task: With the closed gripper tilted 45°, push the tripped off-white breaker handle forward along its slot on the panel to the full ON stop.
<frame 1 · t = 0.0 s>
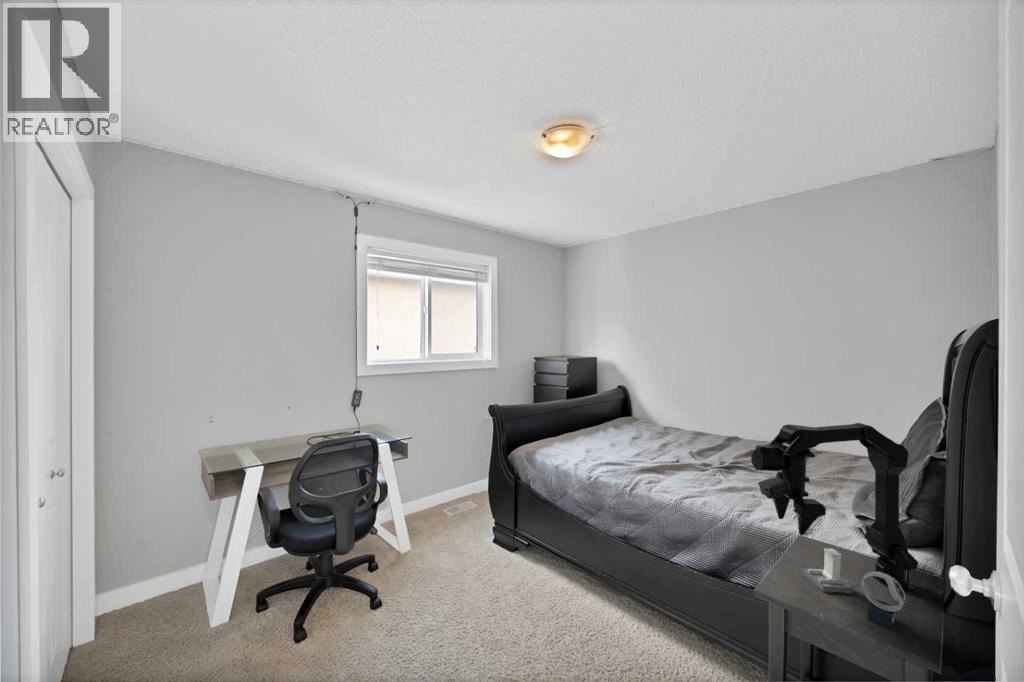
hand: (790, 526, 117), 15 cm above the nightstand, tool pointing down, fingers open, 9 cm apart
breaker handle: (832, 564, 114), point 5 cm above the nightstand, slide at 1.0 cm
breaker panel: (827, 583, 115), on the nightstand
watch: (881, 620, 101), on the nightstand
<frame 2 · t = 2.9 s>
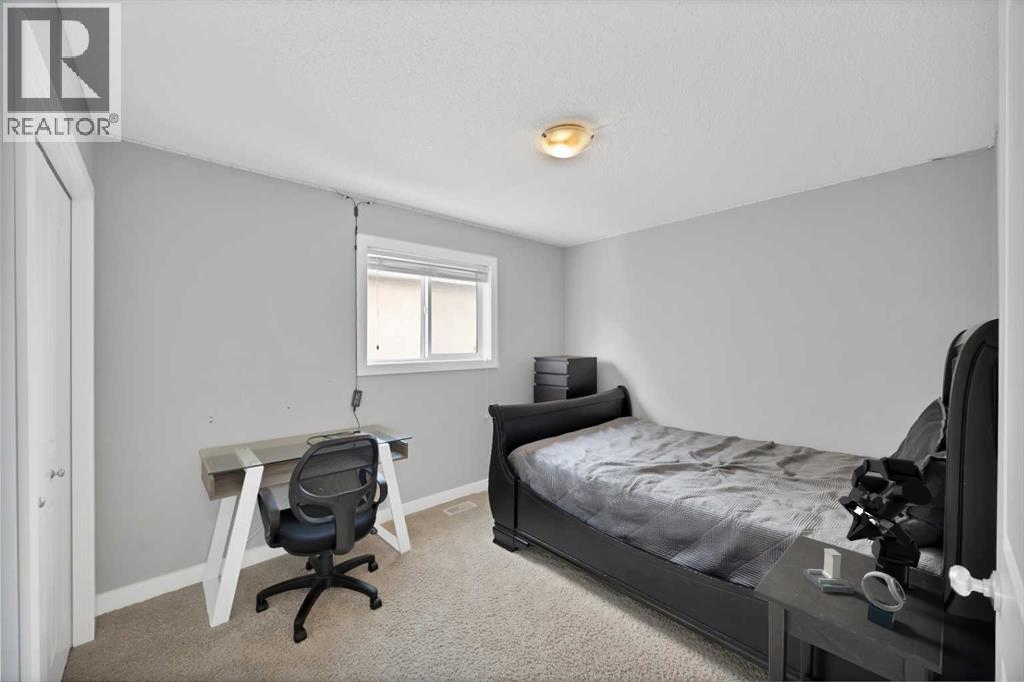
hand: (848, 539, 114), 13 cm above the nightstand, tool tilted 45°, fingers closed
nothing on the nightstand moved.
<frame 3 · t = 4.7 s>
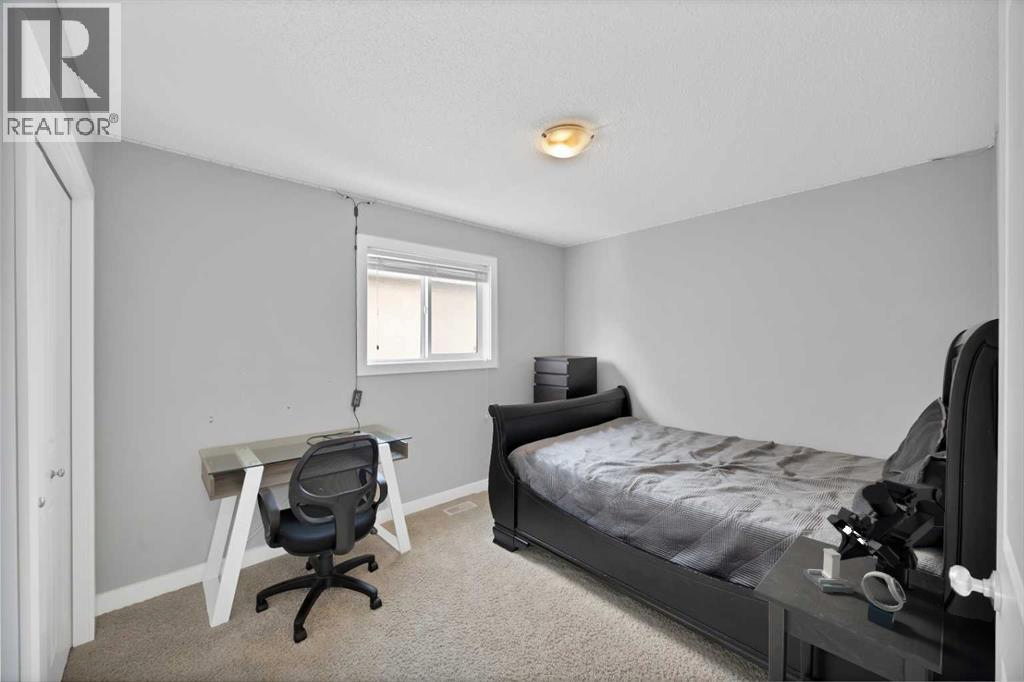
hand: (837, 558, 114), 7 cm above the nightstand, tool tilted 45°, fingers closed, pressing on breaker handle
breaker handle: (831, 564, 114), point 5 cm above the nightstand, slide at 1.2 cm, touching gripper
everything else where it was.
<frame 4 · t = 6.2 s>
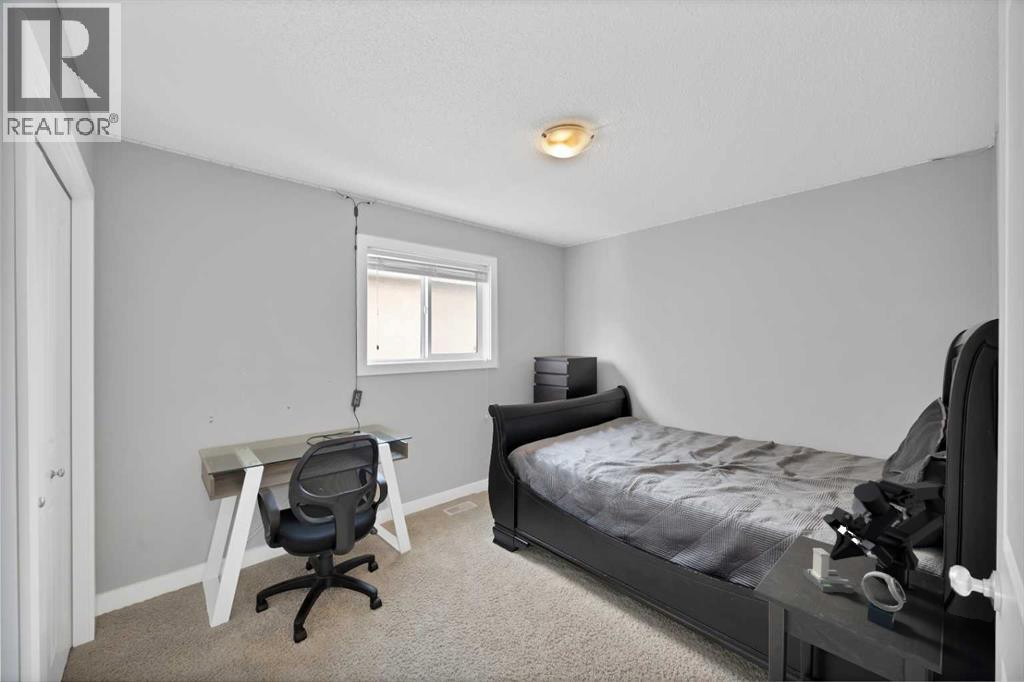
hand: (831, 558, 115), 7 cm above the nightstand, tool tilted 45°, fingers closed
breaker handle: (820, 564, 115), point 5 cm above the nightstand, slide at 4.0 cm
everything else where it was.
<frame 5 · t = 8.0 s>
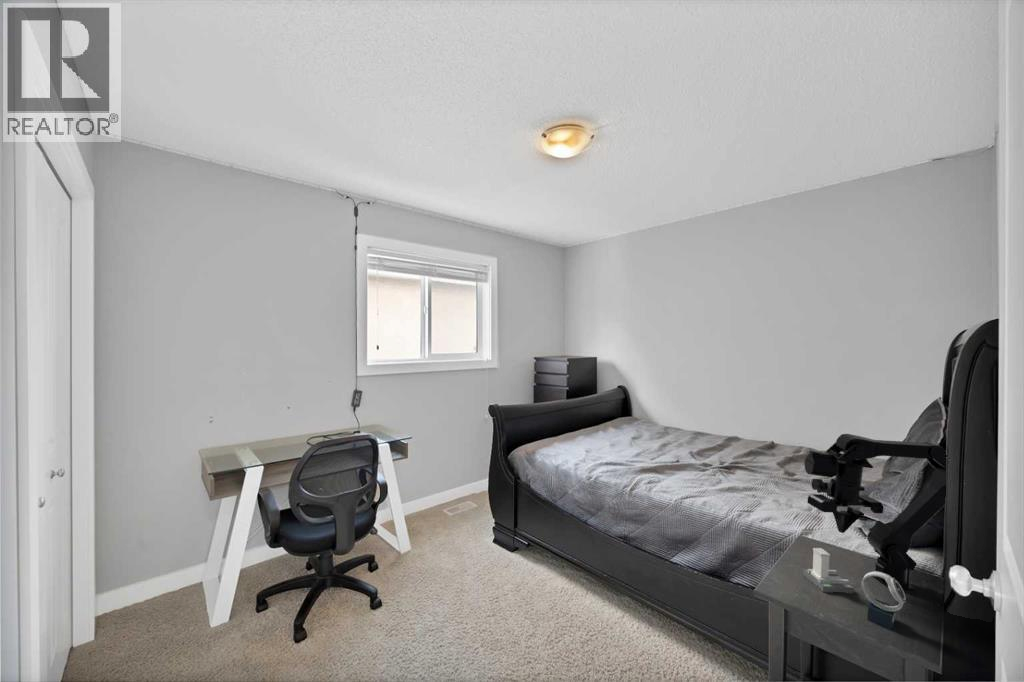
hand: (841, 532, 119), 12 cm above the nightstand, tool pointing down, fingers closed
nothing on the nightstand moved.
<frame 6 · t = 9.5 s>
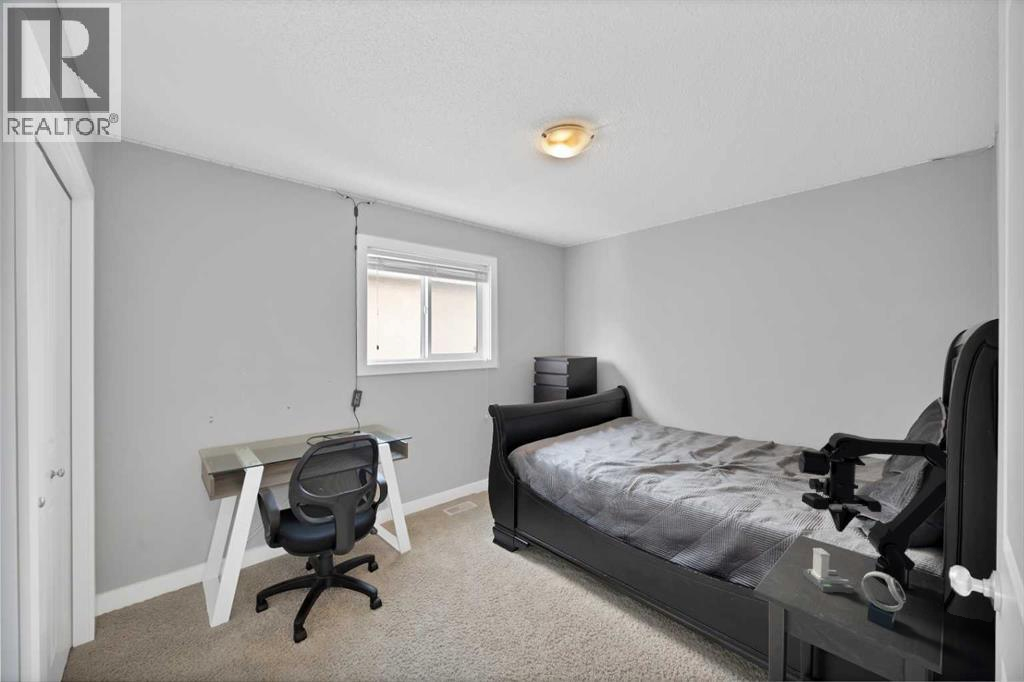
hand: (839, 531, 120), 12 cm above the nightstand, tool pointing down, fingers closed
nothing on the nightstand moved.
at the end: breaker handle slide at 4.0 cm; watch moved 0.2 cm from its start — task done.
